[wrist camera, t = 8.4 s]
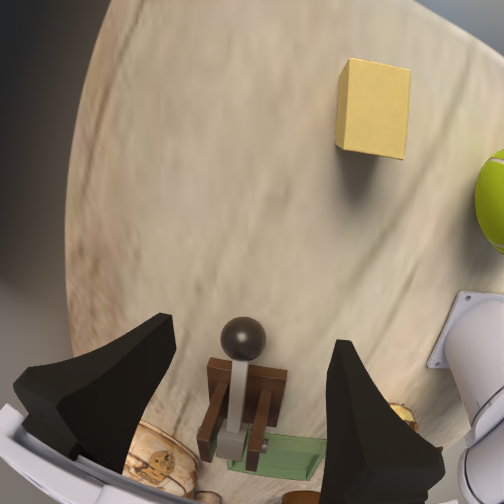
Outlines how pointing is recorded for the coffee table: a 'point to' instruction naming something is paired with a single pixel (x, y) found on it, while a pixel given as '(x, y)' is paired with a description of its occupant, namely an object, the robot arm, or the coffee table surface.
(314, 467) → the butter dish
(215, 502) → the sculpture
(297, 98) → the coffee table surface
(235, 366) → the lever
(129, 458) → the trinket box
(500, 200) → the tennis ball
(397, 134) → the block
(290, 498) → the mug
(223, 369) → the brown lever mount bracket
